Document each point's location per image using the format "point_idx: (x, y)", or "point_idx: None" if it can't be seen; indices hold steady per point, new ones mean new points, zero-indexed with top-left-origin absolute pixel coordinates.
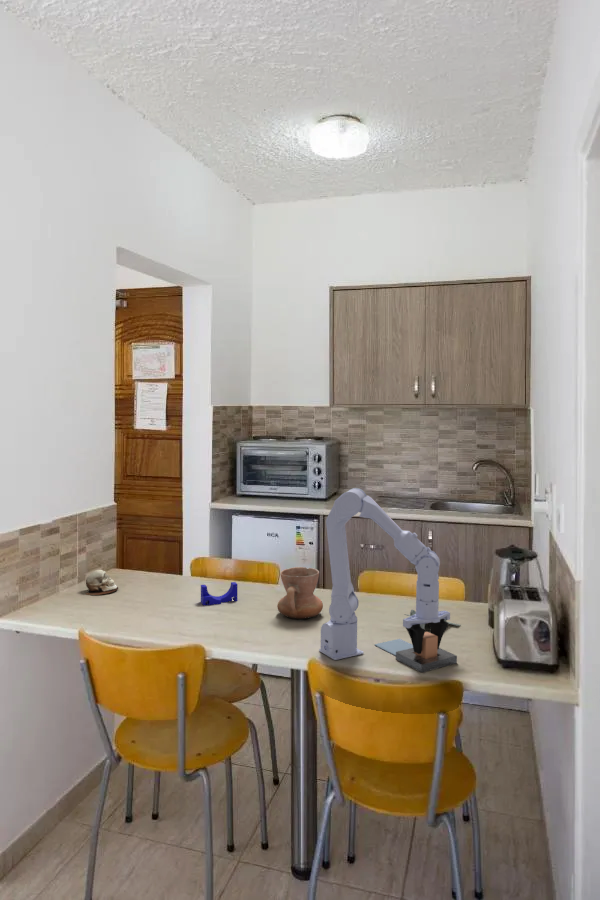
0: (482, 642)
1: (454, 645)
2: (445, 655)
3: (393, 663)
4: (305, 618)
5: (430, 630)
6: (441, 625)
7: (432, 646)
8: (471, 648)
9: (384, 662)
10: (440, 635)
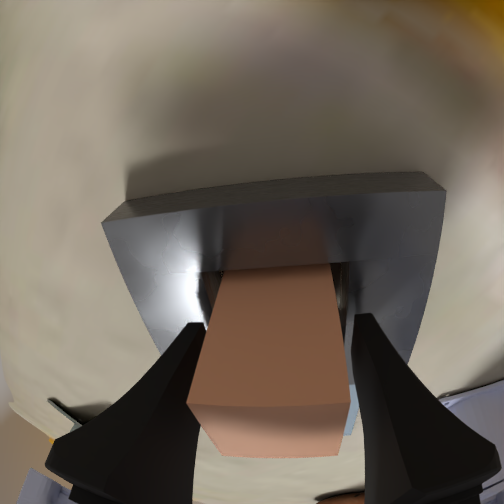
0: (3, 318)
1: (77, 347)
2: (170, 255)
3: (436, 321)
4: (358, 493)
5: (194, 455)
6: (117, 486)
7: (262, 334)
8: (30, 304)
9: (452, 338)
10: (149, 399)
